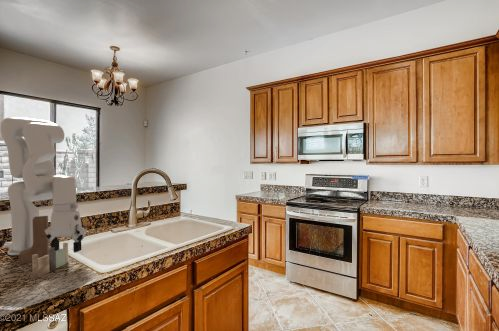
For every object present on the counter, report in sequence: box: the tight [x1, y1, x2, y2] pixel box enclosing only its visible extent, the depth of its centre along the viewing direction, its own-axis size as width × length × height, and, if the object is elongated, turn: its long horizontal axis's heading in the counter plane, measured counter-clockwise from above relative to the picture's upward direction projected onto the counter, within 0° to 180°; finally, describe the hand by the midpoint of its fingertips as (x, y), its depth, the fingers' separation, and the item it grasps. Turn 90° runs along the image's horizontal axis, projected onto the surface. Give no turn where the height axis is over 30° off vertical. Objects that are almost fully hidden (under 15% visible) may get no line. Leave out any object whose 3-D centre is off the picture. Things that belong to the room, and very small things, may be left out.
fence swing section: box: [55, 242, 69, 269], centre depth 100 cm, size 6×2×8 cm, turn 173°
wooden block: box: [18, 215, 50, 265], centre depth 105 cm, size 9×4×18 cm, turn 122°
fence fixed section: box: [31, 246, 56, 280], centre depth 93 cm, size 8×2×9 cm, turn 173°
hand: (66, 251), depth 102 cm, fingers open, 9 cm apart
